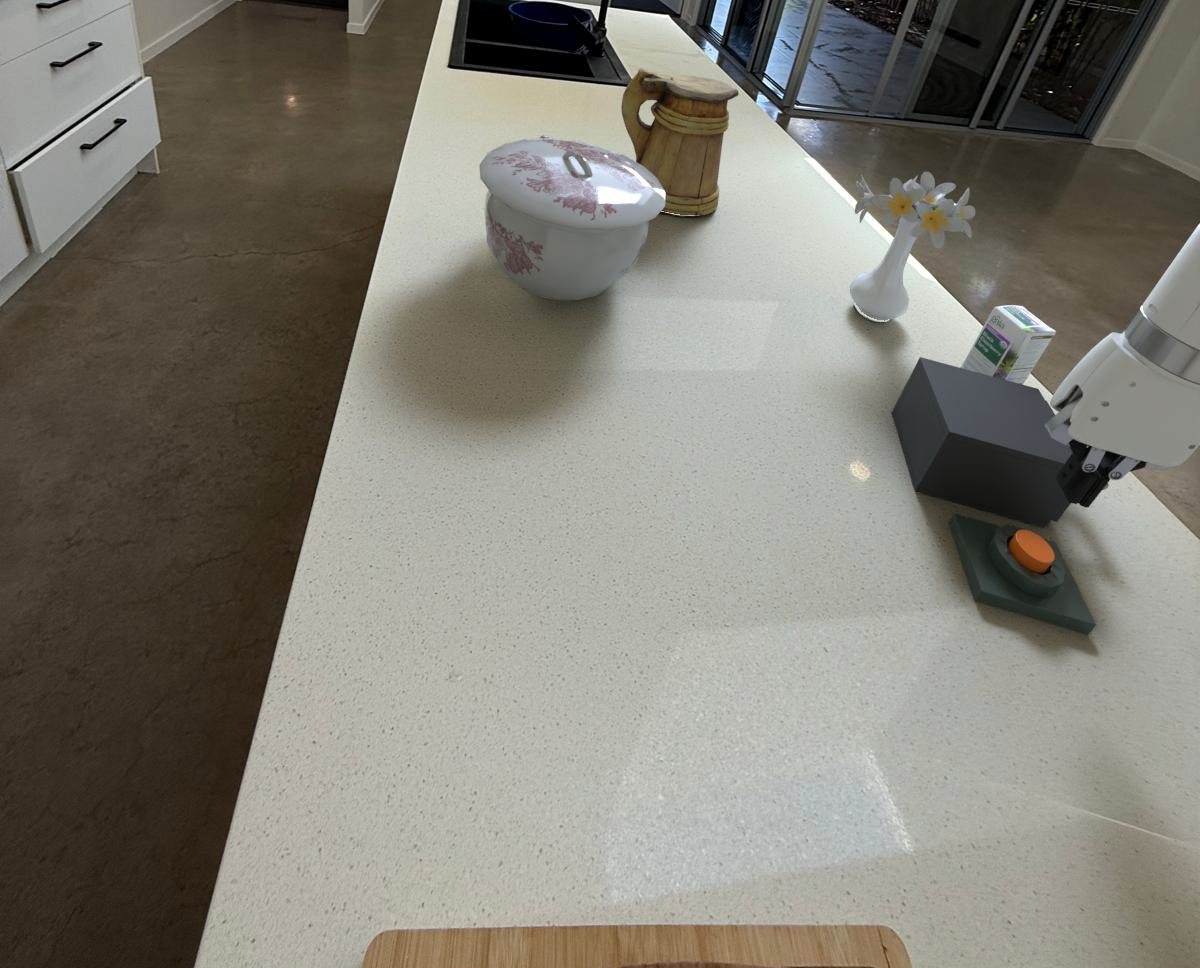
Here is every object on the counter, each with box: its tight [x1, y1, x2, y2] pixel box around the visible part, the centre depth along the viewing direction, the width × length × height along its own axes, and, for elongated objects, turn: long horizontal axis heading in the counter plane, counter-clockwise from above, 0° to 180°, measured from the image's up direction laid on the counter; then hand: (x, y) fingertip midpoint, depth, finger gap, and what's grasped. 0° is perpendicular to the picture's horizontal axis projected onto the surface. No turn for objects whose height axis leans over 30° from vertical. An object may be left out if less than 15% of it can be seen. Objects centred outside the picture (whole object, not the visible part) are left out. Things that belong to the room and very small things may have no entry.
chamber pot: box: [478, 134, 666, 302], centre depth 98 cm, size 28×28×21 cm
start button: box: [1008, 529, 1055, 573], centre depth 67 cm, size 4×4×2 cm
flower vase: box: [849, 171, 976, 321], centre depth 104 cm, size 13×18×25 cm
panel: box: [947, 512, 1097, 636], centre depth 68 cm, size 11×9×4 cm
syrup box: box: [959, 304, 1057, 385], centre depth 91 cm, size 6×6×14 cm
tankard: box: [621, 68, 739, 216], centre depth 128 cm, size 18×24×25 cm
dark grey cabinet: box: [890, 356, 1072, 529], centre depth 79 cm, size 15×13×10 cm
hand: (1070, 492), depth 64 cm, fingers closed
